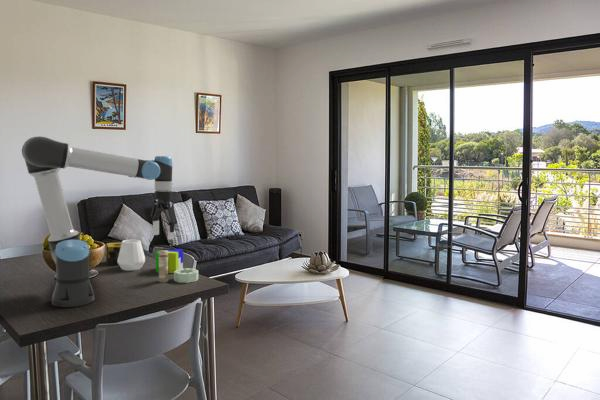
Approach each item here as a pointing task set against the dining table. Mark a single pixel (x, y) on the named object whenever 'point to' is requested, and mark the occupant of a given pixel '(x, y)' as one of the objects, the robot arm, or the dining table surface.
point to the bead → (186, 275)
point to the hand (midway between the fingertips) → (163, 237)
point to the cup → (131, 255)
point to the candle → (112, 253)
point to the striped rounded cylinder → (163, 266)
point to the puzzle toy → (172, 260)
